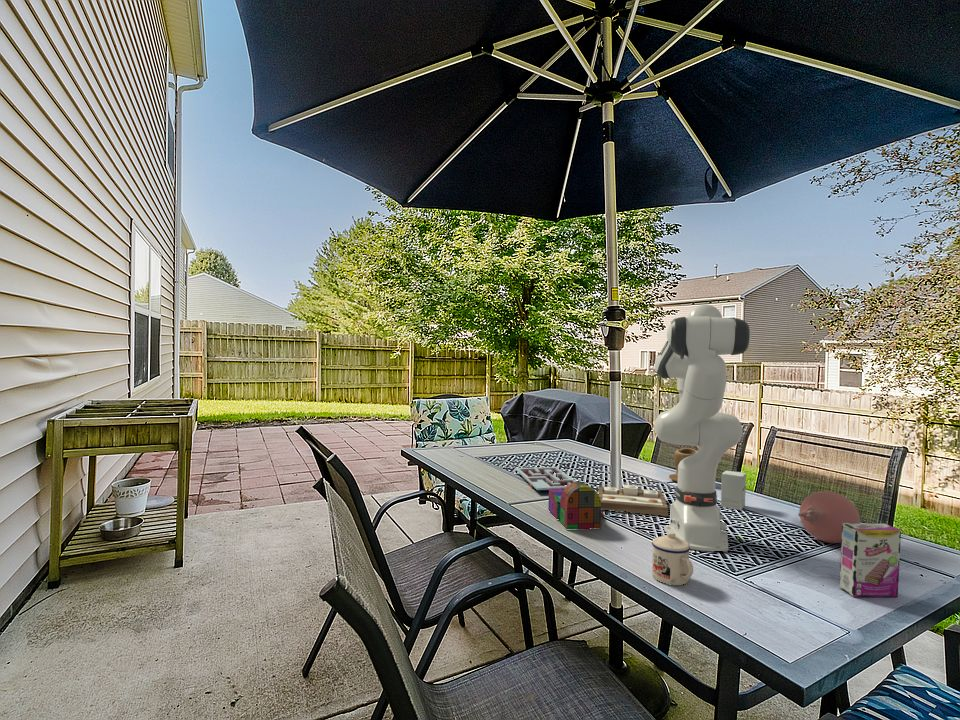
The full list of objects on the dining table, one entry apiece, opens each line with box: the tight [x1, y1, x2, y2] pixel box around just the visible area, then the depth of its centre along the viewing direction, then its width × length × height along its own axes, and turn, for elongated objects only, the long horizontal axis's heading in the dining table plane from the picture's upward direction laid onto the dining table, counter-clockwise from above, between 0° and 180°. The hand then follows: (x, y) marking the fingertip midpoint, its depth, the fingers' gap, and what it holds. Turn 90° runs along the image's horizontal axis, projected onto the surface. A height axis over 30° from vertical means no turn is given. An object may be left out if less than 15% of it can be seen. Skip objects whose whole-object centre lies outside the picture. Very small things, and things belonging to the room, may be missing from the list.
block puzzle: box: [547, 481, 605, 530], centre depth 175 cm, size 25×17×14 cm
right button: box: [643, 489, 658, 497], centre depth 193 cm, size 5×5×3 cm
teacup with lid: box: [651, 532, 694, 586], centre depth 126 cm, size 12×9×12 cm
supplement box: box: [720, 470, 747, 511], centre depth 190 cm, size 7×7×13 cm
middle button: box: [623, 484, 639, 496], centre depth 195 cm, size 5×5×3 cm
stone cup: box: [668, 447, 698, 483], centre depth 226 cm, size 15×12×15 cm
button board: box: [598, 486, 669, 517], centre depth 190 cm, size 22×24×4 cm
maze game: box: [515, 466, 578, 491], centre depth 220 cm, size 35×20×3 cm, turn 10°
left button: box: [603, 486, 618, 494], centre depth 197 cm, size 5×5×3 cm
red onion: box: [797, 490, 861, 544], centre depth 154 cm, size 15×20×15 cm
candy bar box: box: [839, 522, 902, 598], centre depth 121 cm, size 11×5×16 cm, turn 92°
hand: (688, 422), depth 190 cm, fingers closed
